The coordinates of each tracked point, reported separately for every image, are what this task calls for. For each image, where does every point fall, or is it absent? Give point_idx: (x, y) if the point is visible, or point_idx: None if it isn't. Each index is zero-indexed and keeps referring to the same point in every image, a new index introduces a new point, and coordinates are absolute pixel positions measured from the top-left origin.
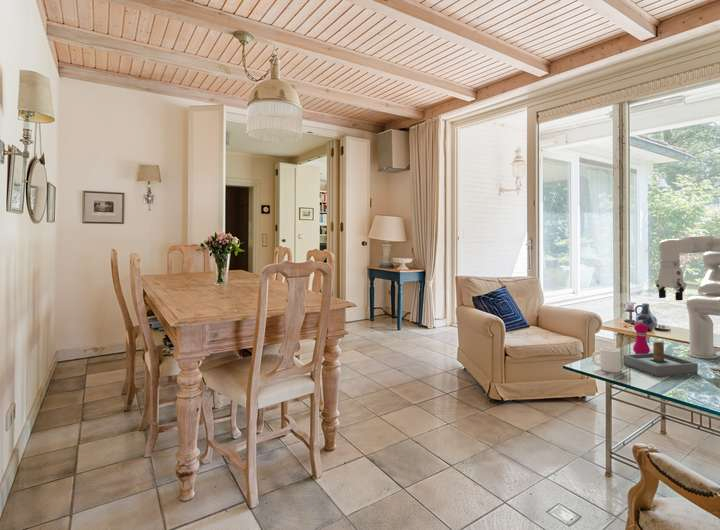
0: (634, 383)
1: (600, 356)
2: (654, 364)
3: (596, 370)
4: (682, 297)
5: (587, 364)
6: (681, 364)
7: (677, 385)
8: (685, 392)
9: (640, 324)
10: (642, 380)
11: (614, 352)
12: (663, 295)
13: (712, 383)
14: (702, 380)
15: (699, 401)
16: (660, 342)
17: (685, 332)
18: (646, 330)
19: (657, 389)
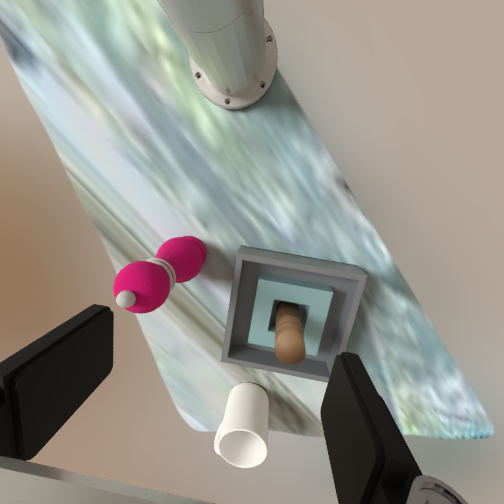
0: None
1: (233, 441)
2: (306, 352)
3: None
4: (366, 375)
5: (194, 403)
6: (352, 318)
7: (385, 373)
8: (419, 396)
9: (142, 307)
10: None
11: (266, 455)
12: (93, 353)
13: (416, 301)
14: (391, 299)
15: (462, 418)
16: (297, 350)
17: None
18: (169, 282)
19: None
